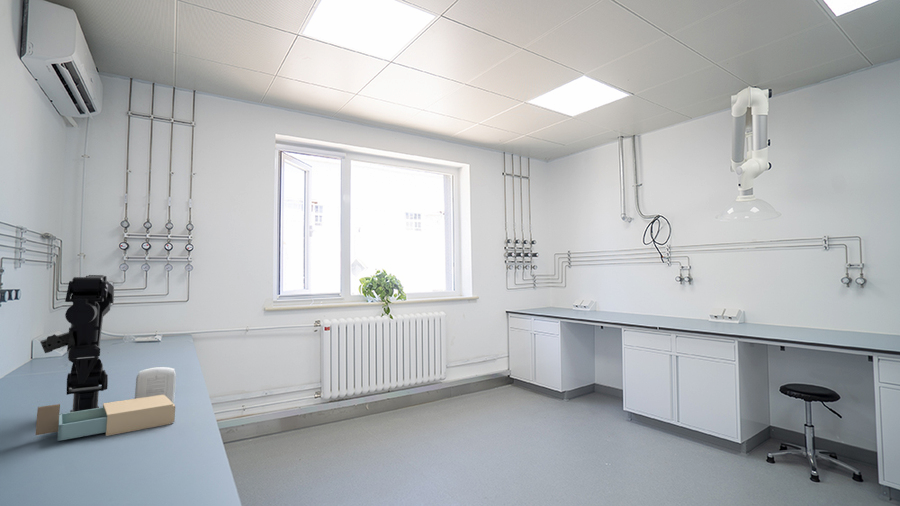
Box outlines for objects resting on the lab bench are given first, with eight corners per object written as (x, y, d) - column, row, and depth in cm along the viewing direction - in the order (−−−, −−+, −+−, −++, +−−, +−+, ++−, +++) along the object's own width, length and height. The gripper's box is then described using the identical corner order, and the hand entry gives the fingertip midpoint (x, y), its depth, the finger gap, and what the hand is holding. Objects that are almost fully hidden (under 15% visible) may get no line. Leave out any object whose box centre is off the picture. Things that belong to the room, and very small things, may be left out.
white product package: (174, 403, 134) (176, 364, 135) (174, 407, 130) (176, 366, 131) (134, 408, 128) (136, 368, 129) (133, 412, 125) (135, 370, 126)
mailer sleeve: (101, 422, 115) (103, 403, 116) (164, 411, 125) (165, 394, 126) (106, 435, 105) (107, 414, 106) (174, 423, 115) (175, 403, 116)
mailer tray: (36, 431, 106) (38, 402, 106) (125, 416, 118) (127, 390, 119) (34, 445, 97) (36, 413, 98) (130, 427, 109) (132, 399, 110)
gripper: (45, 322, 116) (40, 379, 115) (43, 327, 102) (38, 391, 101) (97, 319, 124) (93, 373, 122) (102, 324, 110) (97, 384, 109)
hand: (80, 380), depth 114 cm, fingers open, 9 cm apart
